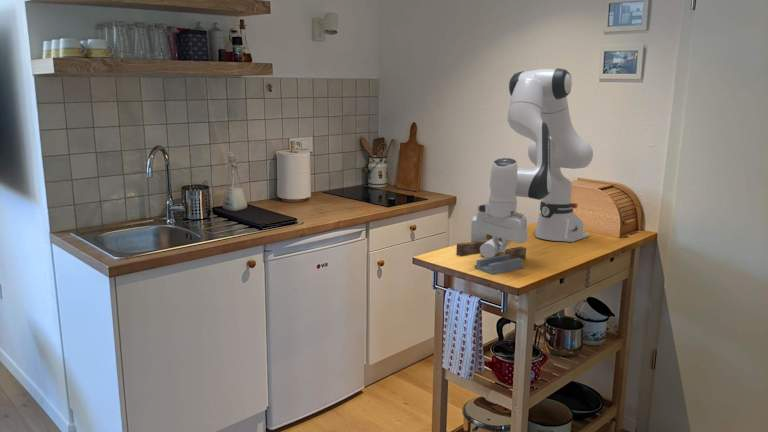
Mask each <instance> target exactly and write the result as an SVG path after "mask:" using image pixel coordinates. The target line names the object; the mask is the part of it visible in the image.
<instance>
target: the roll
mask: <svg viewBox="0 0 768 432" xmlns="http://www.w3.org/2000/svg"><path fill="white" fill-rule="evenodd" d="M499 243H500V244H501V245H502V243H503V242H500V241H499ZM494 247H495V244H494V242H493V240H492V239H491V240H489V241H487V242H486V243H484V244H483V245H482V246H481V247H480V253H479V254H480V255H481V256H482V257H483V258H489V257H495V256H497V254H499V253H502V252H501V251H498V250H495V249H494Z"/></svg>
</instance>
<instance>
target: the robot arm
mask: <svg viewBox="0 0 768 432" xmlns="http://www.w3.org/2000/svg"><path fill="white" fill-rule="evenodd" d="M508 82H509V83H508V90H509V94H510V96H511V97H510V100H509V105H508V112H507V121H508V125H509V126H510V128H511V129H512V130H513V131H514V132H515V133H517V134H519V135H520V136H522V137H524V138H528V139H530V140H532V142H531V143H530V144H529V145H528V149H527V155H528V159H529V161H530V162H531V163H533V165H534V167H533V168H532V167H520V166H518V162H517V160H516V159H513V158H508V157H503V158H497V159H495V160H494V161H493V162H492V165H491V171H490V178H489V190H490V194H489V197H488V202H487V203H483V204H478V205H477V208H476V209H477V214H476V216H477V219H476V229H477V231H478V232H481V233H484V234H488V235H491V236H492V240H493V242H494V244H495V247H494V249H495V250H498V251H501V252H500V253H504V252H505V251H506V249H507V246H508V244H509V243H510V242H513V243H516V244H523V243H527V241H528V237H529V236H528V235H529V234H528V224H527V223H528V222H527V218H526V216H525V215H524V214H523V213H522V212H521V213H519V212H517V204H518V199H517V198H518V197H520V198H521V197H522V198H529V199H532V200H538V201H540V200H541V201H540V203H539V210H540V212H539V214H538V218H537V224H536V229H535V230H534V233H535V236H534V237H536V238H538V239H541V240H547V241H554V242H555V241H556V242H567V243H568V242H571V243H573V242H577V241H580V240H581V239H585V238H587V237H590V233H588V232H586V231H584V221H582V219H581V218H580V217H579V216H577V214H576V213H574V209H578V205H579V204H578V203H574V202H572V190H573V189H572V188H573V185H572V182H571V180H570V179H569V178H567V177H566V176H565V175H564V174H563V173H562V171H561V168H563V169H571V170H572V169H573V170H575V169H577V170H578V169H585V168H586V167H588V166H589V165H590V164H591V161H592V160H593V158H594V152H593V148H592V146H591V144H590V143H588V142H587V141H585V140H584V139H583V138H582V137H581V136H580V135H579V134H578V132H577V131H576V130H575V127H574V126H573V124H572V121H571V116H570V110H569V102H568V98H567V97H568V96H569V94H570V93H571V91H572V86H573V82H572V75H571V74H570V72H569V71H568V70H567V69H565V68H559V67H557V68H556V69H555V68H538V69H534V70H527V71H524V70H523V71H519V72H516V73H513V75H512V76H511V77H510V80H509V81H508ZM500 238H502V242H501V243H502V245H501V244H500V243H499V239H500Z"/></svg>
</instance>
